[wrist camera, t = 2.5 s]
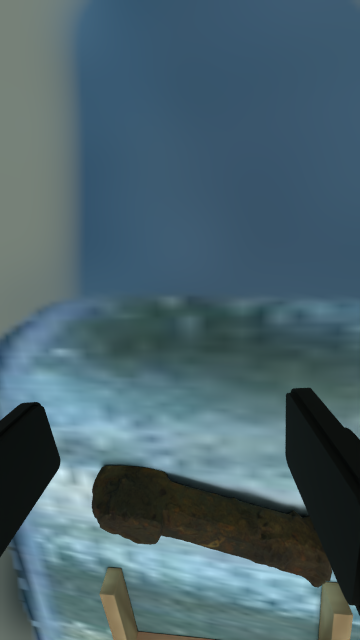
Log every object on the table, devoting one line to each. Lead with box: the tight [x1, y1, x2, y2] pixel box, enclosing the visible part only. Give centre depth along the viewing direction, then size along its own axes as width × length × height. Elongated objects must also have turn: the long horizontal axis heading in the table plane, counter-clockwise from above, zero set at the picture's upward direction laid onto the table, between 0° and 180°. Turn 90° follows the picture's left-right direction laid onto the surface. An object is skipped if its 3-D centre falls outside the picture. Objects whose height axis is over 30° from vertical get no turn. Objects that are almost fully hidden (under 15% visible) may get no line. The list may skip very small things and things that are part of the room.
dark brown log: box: [92, 466, 332, 587], centre depth 18 cm, size 19×4×5 cm, turn 74°
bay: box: [100, 568, 353, 640], centre depth 23 cm, size 23×11×2 cm, turn 97°
